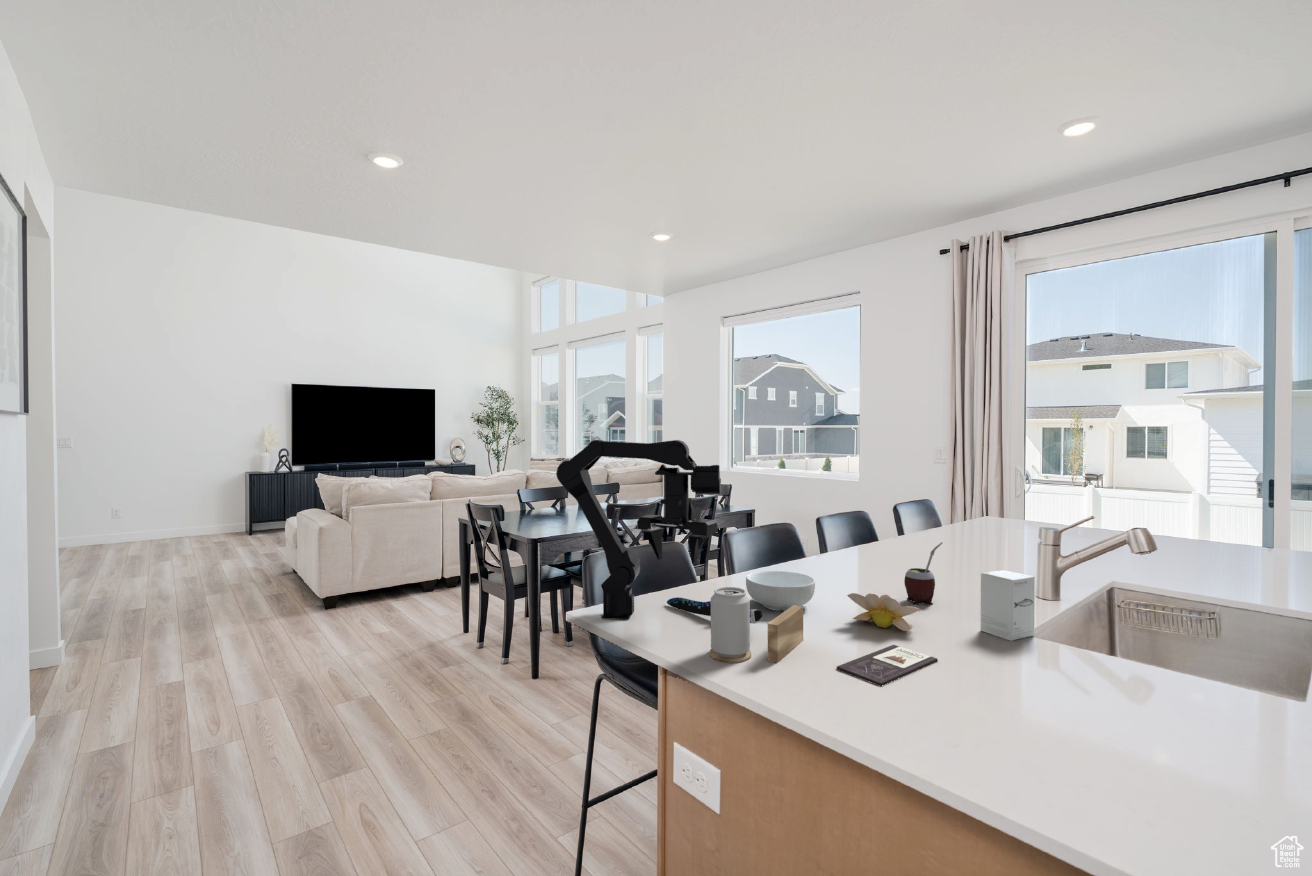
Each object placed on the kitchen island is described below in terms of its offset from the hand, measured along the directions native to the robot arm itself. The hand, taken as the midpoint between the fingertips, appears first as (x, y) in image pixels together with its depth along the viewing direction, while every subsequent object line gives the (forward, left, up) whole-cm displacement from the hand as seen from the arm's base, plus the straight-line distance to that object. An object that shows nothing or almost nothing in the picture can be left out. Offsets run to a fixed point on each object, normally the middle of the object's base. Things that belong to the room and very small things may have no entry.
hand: (676, 561), depth 138 cm
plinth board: (+24, -17, -13) cm, 32 cm away
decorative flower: (+47, +1, -13) cm, 49 cm away
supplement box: (+70, -1, -13) cm, 72 cm away
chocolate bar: (+42, -22, -14) cm, 49 cm away
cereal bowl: (+24, +13, -13) cm, 30 cm away
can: (+13, -21, -13) cm, 28 cm away
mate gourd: (+59, +21, -13) cm, 64 cm away
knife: (+8, 0, -13) cm, 15 cm away
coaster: (+13, -21, -13) cm, 28 cm away
